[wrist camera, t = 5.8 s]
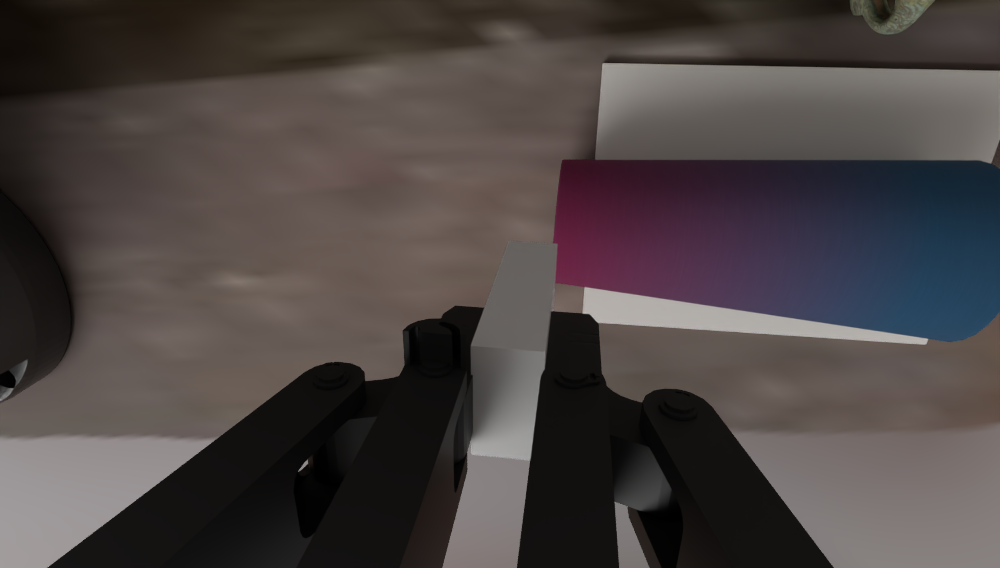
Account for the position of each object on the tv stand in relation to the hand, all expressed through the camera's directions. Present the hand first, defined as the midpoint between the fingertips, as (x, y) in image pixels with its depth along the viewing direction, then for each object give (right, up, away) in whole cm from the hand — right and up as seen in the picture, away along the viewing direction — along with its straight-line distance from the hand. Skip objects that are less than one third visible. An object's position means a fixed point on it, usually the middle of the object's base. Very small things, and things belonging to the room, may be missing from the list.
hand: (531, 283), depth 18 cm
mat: (+11, +3, +8) cm, 14 cm away
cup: (+1, +3, +6) cm, 6 cm away
